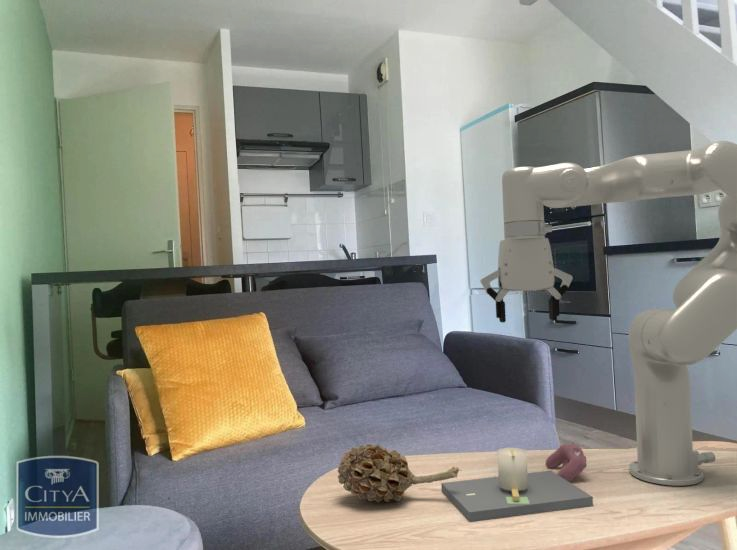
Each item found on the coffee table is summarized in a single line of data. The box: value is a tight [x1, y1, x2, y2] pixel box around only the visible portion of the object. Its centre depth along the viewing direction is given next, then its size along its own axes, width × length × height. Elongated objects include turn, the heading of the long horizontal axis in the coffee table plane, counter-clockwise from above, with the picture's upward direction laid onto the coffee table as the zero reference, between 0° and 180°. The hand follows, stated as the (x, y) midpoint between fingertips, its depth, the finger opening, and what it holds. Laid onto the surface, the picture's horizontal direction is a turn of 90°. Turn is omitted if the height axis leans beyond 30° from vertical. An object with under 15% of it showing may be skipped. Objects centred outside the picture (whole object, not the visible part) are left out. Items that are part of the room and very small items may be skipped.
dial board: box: [440, 470, 594, 522], centre depth 103 cm, size 22×14×2 cm, turn 101°
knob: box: [497, 447, 529, 501], centre depth 102 cm, size 8×5×7 cm, turn 170°
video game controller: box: [545, 442, 588, 482], centre depth 114 cm, size 10×5×7 cm, turn 178°
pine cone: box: [337, 443, 462, 503], centre depth 105 cm, size 22×10×10 cm, turn 89°
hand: (527, 320), depth 113 cm, fingers open, 9 cm apart
